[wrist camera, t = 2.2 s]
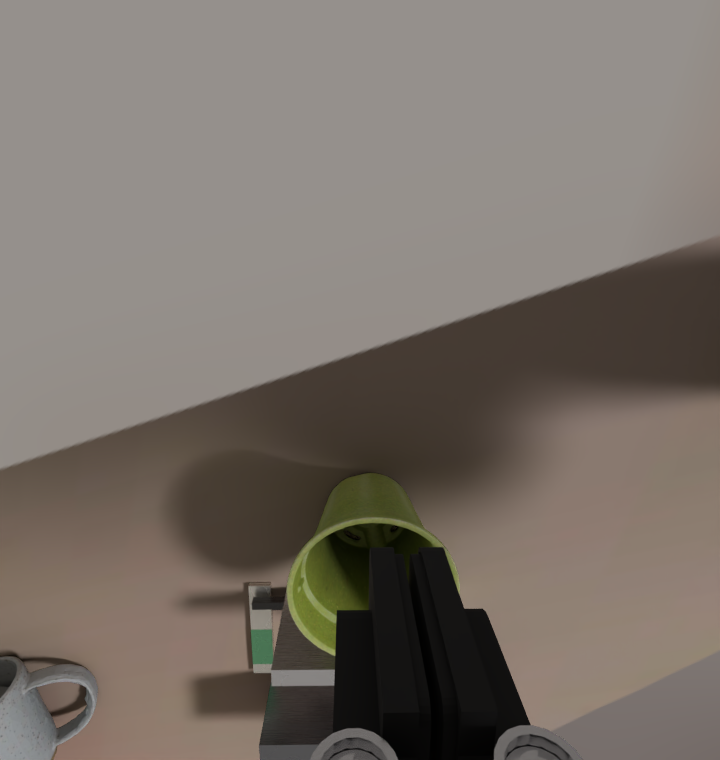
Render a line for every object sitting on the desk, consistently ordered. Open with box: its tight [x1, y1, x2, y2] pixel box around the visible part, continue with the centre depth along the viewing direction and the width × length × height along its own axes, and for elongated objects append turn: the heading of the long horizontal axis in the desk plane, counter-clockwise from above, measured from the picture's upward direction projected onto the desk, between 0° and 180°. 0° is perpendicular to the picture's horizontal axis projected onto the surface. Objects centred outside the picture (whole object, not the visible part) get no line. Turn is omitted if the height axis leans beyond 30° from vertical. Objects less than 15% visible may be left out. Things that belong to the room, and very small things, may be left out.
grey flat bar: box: [252, 594, 335, 686], centre depth 32 cm, size 4×14×7 cm, turn 89°
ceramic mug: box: [0, 656, 98, 760], centre depth 33 cm, size 11×8×8 cm
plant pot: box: [286, 473, 460, 656], centre depth 29 cm, size 9×9×9 cm
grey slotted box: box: [248, 582, 334, 760], centre depth 33 cm, size 12×16×6 cm
